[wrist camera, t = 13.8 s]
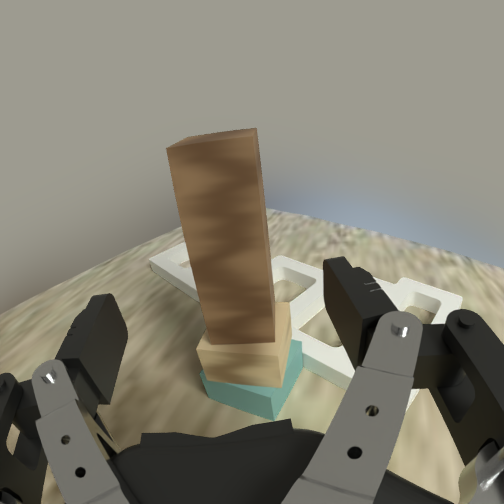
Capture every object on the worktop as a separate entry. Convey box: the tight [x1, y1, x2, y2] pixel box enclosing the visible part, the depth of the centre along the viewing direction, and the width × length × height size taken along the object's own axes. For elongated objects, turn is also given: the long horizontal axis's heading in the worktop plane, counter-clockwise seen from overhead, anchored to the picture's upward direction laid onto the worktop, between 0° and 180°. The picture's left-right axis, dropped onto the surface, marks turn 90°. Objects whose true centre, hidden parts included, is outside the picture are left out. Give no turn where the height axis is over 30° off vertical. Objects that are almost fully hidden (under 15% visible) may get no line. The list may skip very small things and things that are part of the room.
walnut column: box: [166, 128, 275, 345], centre depth 22 cm, size 5×5×15 cm
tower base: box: [199, 339, 303, 421], centre depth 28 cm, size 7×7×4 cm
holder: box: [149, 242, 463, 411], centre depth 42 cm, size 45×18×3 cm, turn 43°
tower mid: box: [196, 302, 292, 388], centre depth 26 cm, size 6×6×4 cm
